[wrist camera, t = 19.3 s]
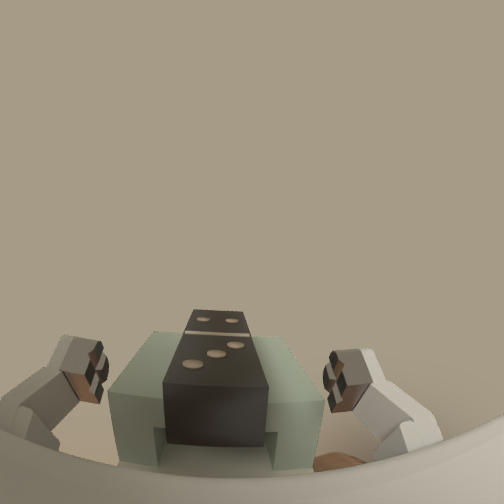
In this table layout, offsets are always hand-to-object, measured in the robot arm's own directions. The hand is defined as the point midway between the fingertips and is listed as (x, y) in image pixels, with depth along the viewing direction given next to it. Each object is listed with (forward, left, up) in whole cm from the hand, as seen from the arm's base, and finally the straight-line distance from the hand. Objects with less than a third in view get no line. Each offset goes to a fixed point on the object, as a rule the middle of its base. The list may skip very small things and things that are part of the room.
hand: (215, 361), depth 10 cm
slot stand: (0, +11, -38) cm, 39 cm away
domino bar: (0, +8, -4) cm, 9 cm away
